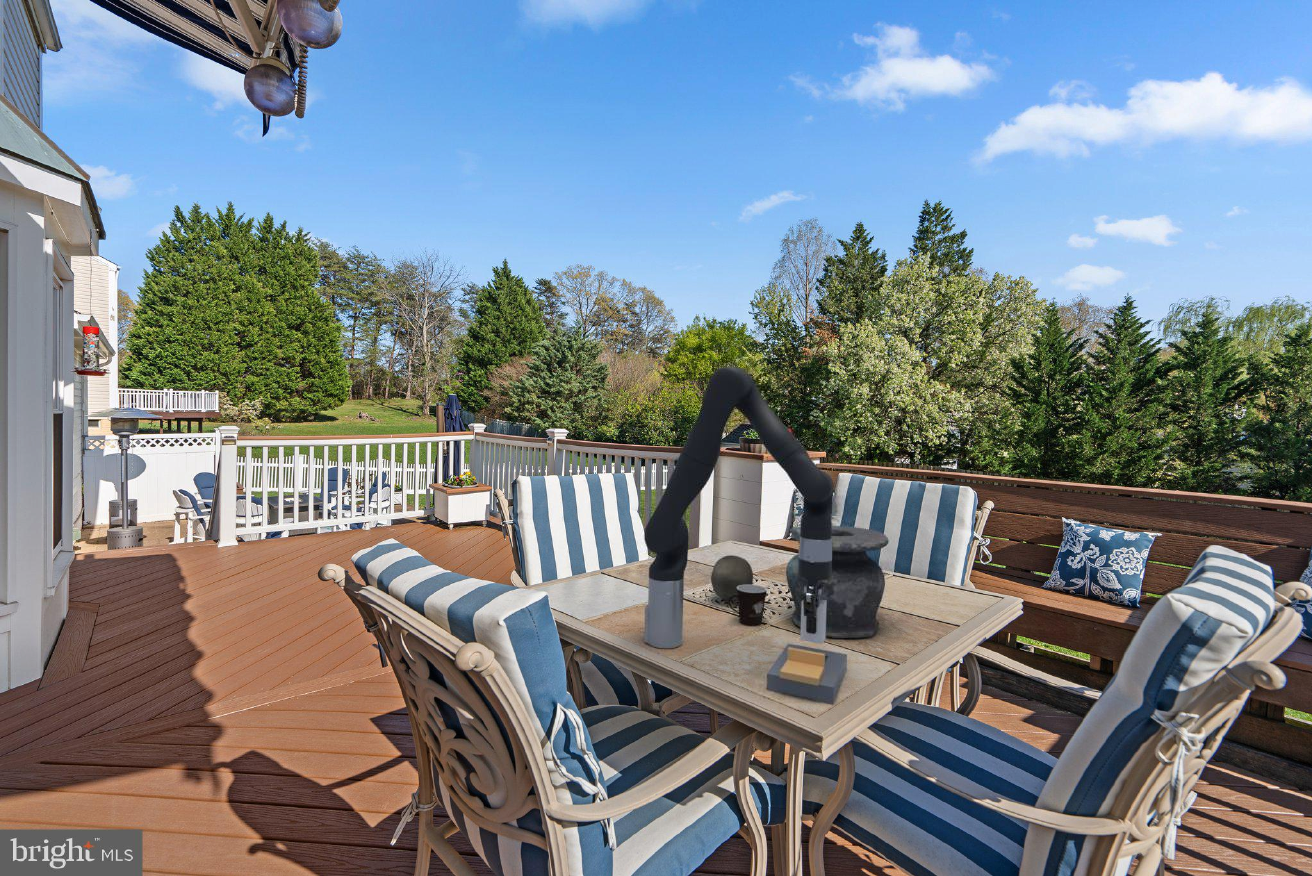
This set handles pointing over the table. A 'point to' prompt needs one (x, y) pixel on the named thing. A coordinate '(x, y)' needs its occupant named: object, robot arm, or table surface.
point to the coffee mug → (750, 604)
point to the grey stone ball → (730, 576)
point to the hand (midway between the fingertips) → (813, 629)
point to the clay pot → (846, 583)
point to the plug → (820, 626)
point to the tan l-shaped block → (803, 666)
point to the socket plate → (822, 692)
